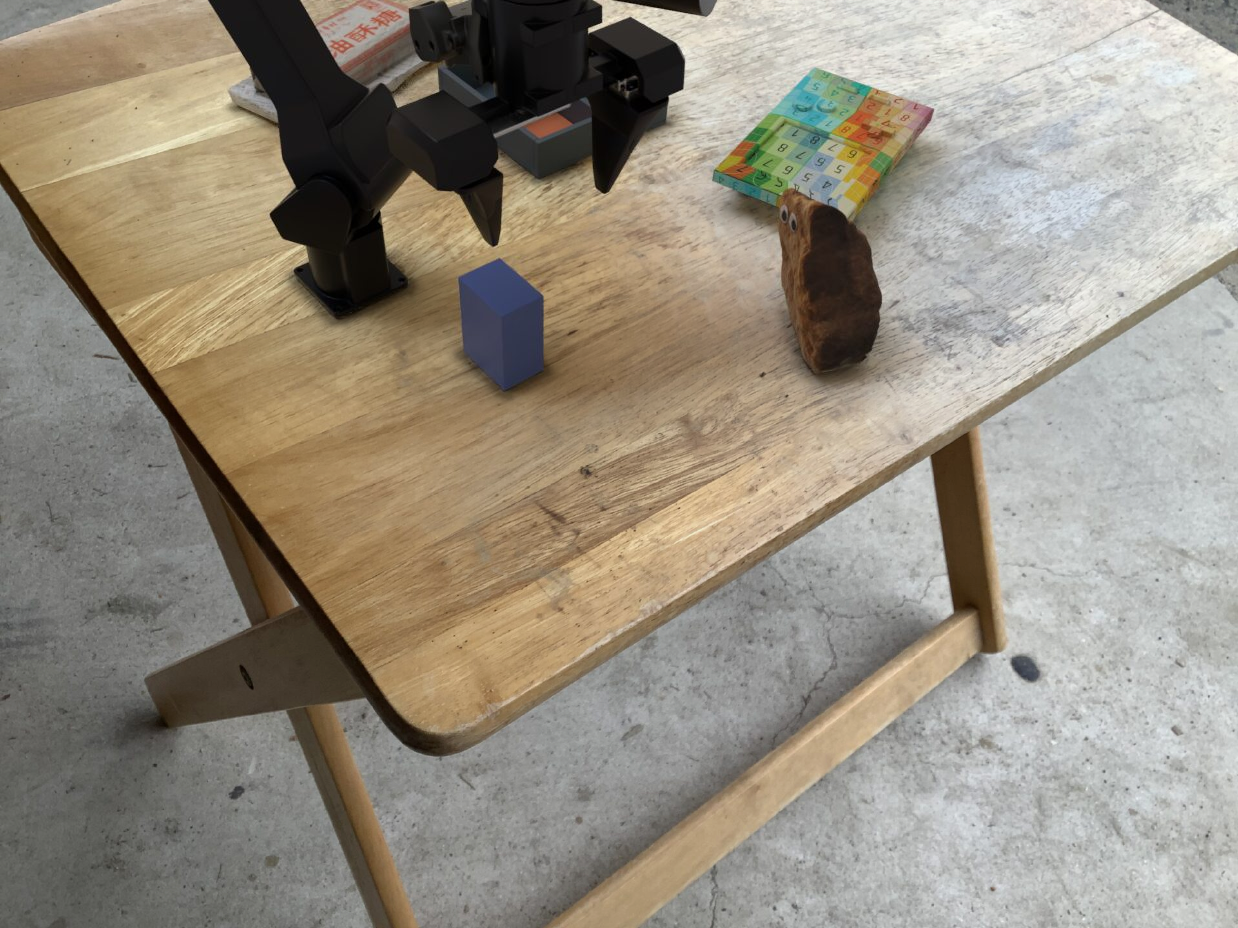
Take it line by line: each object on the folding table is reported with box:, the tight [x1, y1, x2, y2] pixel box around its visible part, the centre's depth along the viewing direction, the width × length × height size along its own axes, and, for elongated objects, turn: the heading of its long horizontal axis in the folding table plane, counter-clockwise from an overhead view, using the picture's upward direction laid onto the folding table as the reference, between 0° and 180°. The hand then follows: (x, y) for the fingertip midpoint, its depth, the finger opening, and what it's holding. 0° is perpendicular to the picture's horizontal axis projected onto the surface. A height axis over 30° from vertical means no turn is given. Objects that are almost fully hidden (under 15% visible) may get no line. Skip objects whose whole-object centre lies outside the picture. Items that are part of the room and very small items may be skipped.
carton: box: [457, 257, 545, 392], centre depth 76 cm, size 5×4×7 cm
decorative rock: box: [777, 188, 883, 375], centre depth 79 cm, size 12×6×11 cm, turn 11°
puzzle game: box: [711, 67, 935, 221], centre depth 94 cm, size 12×5×20 cm
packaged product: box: [227, 0, 431, 124], centre depth 100 cm, size 18×5×10 cm
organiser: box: [437, 63, 669, 180], centre depth 99 cm, size 15×15×4 cm
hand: (548, 216), depth 72 cm, fingers open, 9 cm apart
